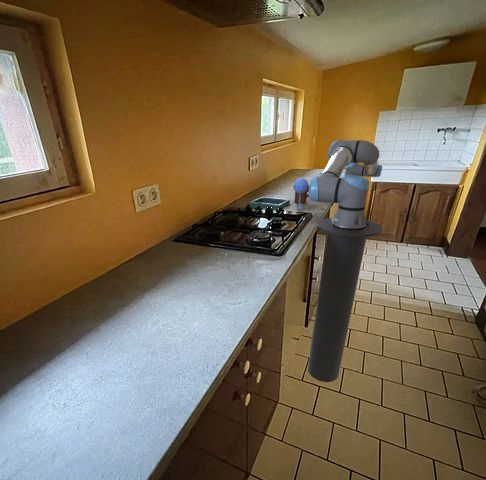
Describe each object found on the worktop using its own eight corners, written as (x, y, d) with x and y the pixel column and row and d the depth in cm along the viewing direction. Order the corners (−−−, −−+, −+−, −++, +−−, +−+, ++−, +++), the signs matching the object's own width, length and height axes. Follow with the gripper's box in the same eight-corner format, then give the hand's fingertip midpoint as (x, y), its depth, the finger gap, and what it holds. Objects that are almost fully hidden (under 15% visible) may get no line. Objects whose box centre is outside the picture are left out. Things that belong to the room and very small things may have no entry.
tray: (289, 204, 194) (289, 199, 192) (278, 210, 181) (279, 205, 179) (261, 201, 204) (261, 196, 202) (249, 207, 191) (249, 202, 189)
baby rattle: (288, 208, 183) (290, 177, 175) (300, 207, 186) (303, 176, 178) (296, 211, 176) (299, 179, 168) (309, 210, 178) (312, 178, 171)
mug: (313, 201, 199) (315, 187, 195) (313, 204, 193) (315, 189, 188) (294, 201, 202) (295, 186, 198) (293, 203, 196) (295, 188, 192)
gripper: (325, 178, 214) (302, 181, 206) (354, 183, 194) (329, 186, 186) (324, 189, 217) (301, 192, 209) (352, 195, 197) (328, 199, 189)
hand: (314, 190), depth 198 cm, fingers open, 13 cm apart
